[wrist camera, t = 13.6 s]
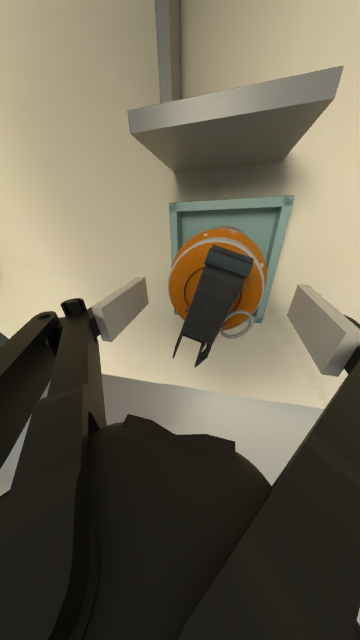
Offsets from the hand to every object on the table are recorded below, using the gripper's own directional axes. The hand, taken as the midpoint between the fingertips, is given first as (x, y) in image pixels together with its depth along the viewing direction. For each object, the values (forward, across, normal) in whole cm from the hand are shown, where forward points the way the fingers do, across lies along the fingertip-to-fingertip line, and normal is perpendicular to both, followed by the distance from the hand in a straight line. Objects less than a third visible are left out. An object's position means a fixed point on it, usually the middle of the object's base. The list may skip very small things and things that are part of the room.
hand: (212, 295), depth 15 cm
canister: (+14, 0, 0) cm, 14 cm away
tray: (+15, 0, -1) cm, 15 cm away
